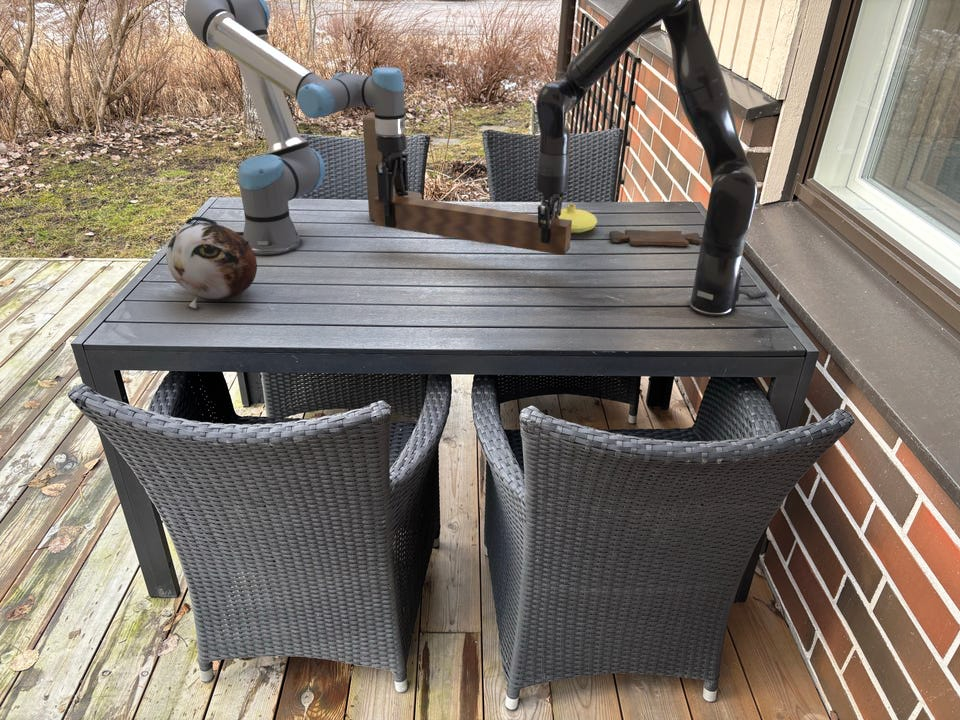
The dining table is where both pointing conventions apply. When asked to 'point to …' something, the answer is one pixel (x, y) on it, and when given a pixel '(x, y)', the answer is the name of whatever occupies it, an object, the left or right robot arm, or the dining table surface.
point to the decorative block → (374, 162)
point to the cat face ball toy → (211, 261)
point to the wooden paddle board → (654, 237)
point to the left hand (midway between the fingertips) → (395, 222)
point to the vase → (578, 219)
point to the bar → (475, 224)
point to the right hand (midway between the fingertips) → (548, 238)
